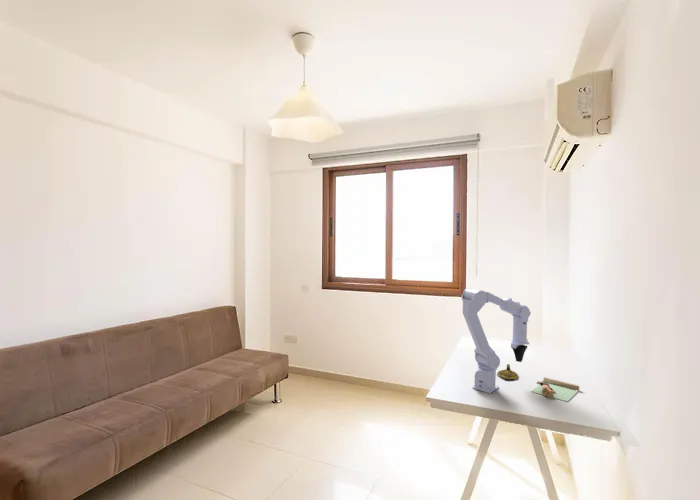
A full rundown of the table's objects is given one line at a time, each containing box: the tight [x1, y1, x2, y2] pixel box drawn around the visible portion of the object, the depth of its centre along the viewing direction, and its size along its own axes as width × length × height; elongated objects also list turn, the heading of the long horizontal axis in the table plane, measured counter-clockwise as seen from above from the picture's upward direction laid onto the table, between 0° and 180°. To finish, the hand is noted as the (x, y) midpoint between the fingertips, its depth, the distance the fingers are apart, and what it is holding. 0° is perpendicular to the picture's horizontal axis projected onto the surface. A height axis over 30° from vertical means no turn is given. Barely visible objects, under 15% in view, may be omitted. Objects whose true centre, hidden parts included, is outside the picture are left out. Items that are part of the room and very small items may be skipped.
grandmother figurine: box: [536, 379, 556, 399], centre depth 158 cm, size 8×4×13 cm
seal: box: [496, 363, 519, 382], centre depth 177 cm, size 9×5×15 cm
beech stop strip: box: [542, 377, 580, 392], centre depth 164 cm, size 2×14×2 cm, turn 45°
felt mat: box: [530, 384, 579, 403], centre depth 158 cm, size 16×14×1 cm
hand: (518, 361), depth 166 cm, fingers closed
